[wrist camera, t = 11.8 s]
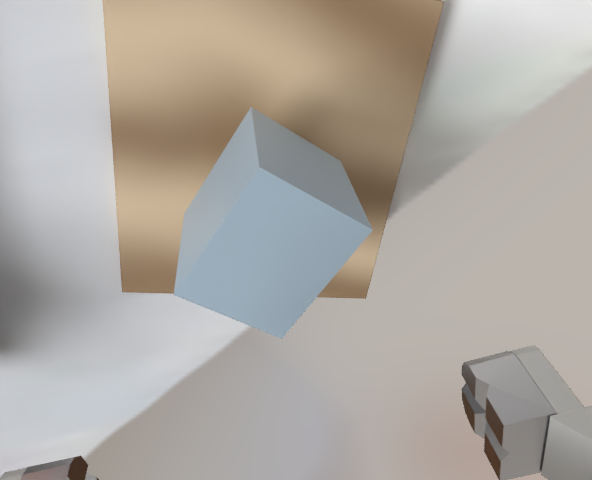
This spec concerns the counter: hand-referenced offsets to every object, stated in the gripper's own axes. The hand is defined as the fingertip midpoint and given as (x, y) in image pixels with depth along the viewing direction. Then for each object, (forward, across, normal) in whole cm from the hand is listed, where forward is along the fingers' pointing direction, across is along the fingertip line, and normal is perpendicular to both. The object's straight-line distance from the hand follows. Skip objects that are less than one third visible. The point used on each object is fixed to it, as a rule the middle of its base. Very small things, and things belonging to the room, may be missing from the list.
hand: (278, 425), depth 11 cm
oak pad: (+13, -1, 0) cm, 13 cm away
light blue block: (+13, -1, 0) cm, 13 cm away
